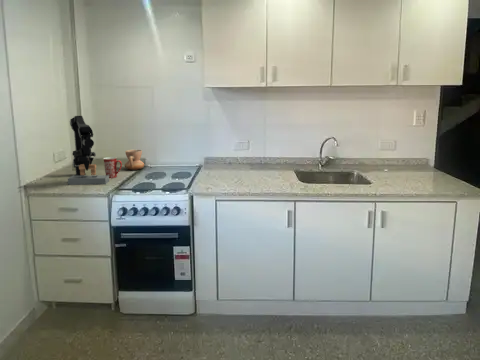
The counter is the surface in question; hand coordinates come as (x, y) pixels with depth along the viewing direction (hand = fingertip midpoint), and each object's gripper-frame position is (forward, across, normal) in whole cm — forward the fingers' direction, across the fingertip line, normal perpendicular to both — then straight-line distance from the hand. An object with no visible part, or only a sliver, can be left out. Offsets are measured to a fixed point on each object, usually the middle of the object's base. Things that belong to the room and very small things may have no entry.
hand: (87, 169), depth 290 cm
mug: (+9, -17, +12) cm, 23 cm away
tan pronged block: (+4, 0, 0) cm, 4 cm away
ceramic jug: (+9, -44, +21) cm, 50 cm away
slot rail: (+9, 0, 0) cm, 9 cm away
